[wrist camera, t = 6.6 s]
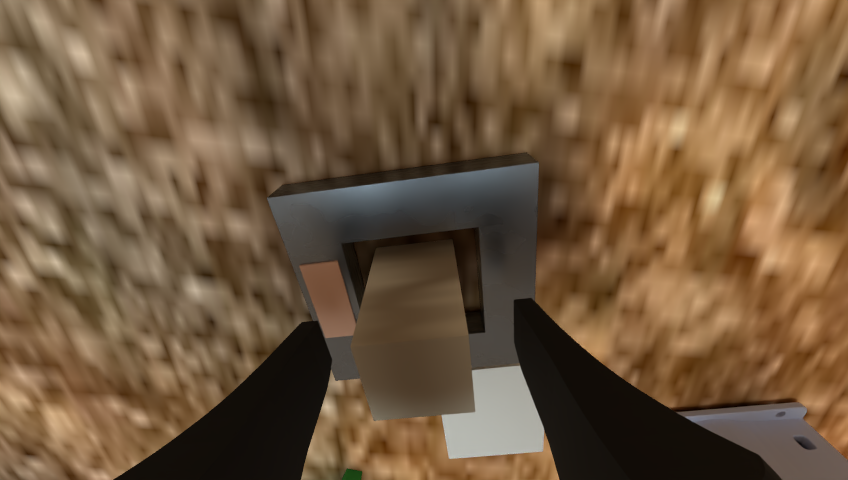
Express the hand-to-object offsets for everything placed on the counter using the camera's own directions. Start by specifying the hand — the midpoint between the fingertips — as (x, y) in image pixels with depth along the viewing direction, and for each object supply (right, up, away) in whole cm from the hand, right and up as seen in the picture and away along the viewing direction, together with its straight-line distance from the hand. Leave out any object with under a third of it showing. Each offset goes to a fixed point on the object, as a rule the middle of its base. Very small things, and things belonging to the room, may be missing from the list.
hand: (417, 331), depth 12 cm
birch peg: (0, +2, +4) cm, 4 cm away
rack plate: (0, +2, +3) cm, 4 cm away
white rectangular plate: (+4, -7, +8) cm, 11 cm away
